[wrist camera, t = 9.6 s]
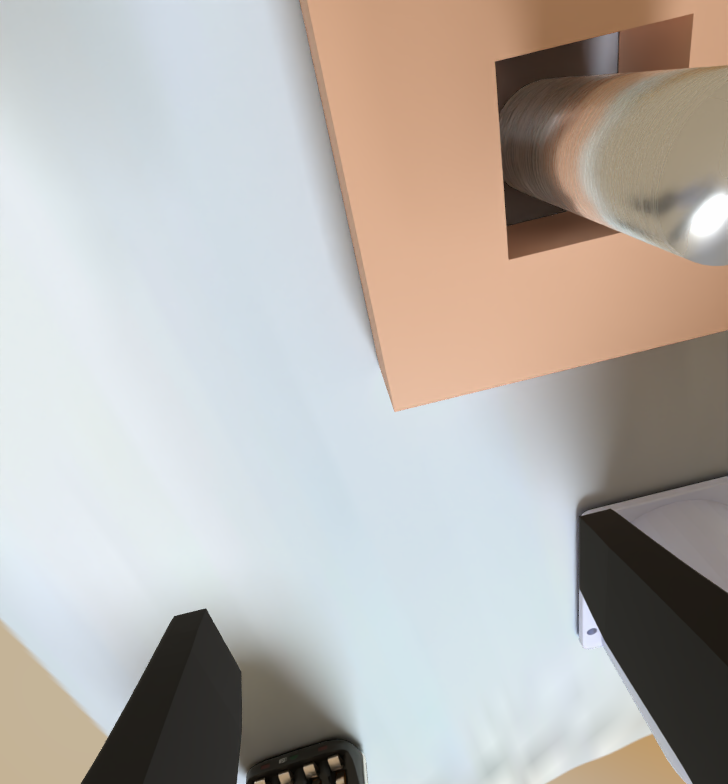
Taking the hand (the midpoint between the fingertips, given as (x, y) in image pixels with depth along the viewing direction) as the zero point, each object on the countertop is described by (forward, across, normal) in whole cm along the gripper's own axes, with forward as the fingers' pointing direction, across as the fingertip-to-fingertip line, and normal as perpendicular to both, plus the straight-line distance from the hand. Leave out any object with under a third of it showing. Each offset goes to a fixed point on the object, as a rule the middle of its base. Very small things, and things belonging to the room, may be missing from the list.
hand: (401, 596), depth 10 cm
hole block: (+9, -7, -6) cm, 13 cm away
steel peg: (+9, -7, -6) cm, 13 cm away
